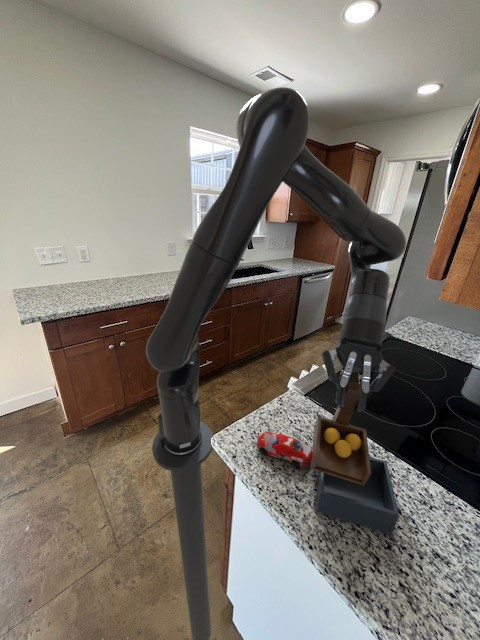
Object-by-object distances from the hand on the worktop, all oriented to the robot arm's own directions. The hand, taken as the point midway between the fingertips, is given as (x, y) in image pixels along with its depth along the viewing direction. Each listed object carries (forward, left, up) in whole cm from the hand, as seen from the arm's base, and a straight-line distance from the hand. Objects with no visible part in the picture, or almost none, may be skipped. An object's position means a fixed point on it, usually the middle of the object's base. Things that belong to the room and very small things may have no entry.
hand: (349, 409), depth 49 cm
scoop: (-1, -1, -9) cm, 9 cm away
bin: (+3, -2, -20) cm, 20 cm away
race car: (-11, +4, -20) cm, 23 cm away
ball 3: (+2, 0, -7) cm, 7 cm away
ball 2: (0, -3, -7) cm, 8 cm away
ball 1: (-2, 0, -7) cm, 7 cm away
